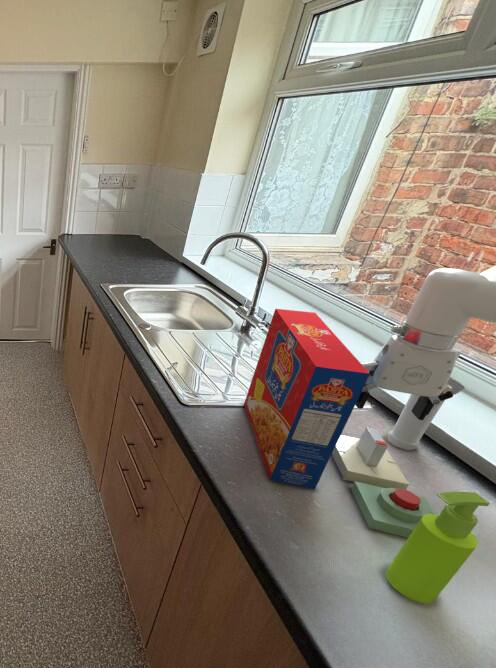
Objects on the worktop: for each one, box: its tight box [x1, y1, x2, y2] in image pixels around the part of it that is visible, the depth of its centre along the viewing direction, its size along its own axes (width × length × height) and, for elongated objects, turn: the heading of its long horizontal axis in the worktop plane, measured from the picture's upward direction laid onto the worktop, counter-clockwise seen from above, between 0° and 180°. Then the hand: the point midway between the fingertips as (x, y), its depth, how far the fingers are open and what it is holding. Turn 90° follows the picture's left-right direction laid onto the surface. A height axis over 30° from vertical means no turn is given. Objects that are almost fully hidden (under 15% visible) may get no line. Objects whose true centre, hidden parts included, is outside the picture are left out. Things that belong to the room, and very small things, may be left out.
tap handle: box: [356, 426, 388, 467], centre depth 88 cm, size 6×2×6 cm, turn 157°
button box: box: [350, 481, 436, 539], centre depth 78 cm, size 11×10×4 cm
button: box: [391, 489, 421, 511], centre depth 77 cm, size 4×4×2 cm
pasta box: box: [243, 308, 370, 490], centre depth 92 cm, size 28×8×28 cm, turn 161°
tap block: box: [331, 434, 410, 490], centre depth 90 cm, size 13×10×3 cm
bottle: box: [387, 347, 463, 451], centre depth 91 cm, size 5×5×25 cm
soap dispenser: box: [385, 491, 490, 604], centre depth 63 cm, size 6×7×20 cm
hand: (386, 410), depth 85 cm, fingers open, 9 cm apart
